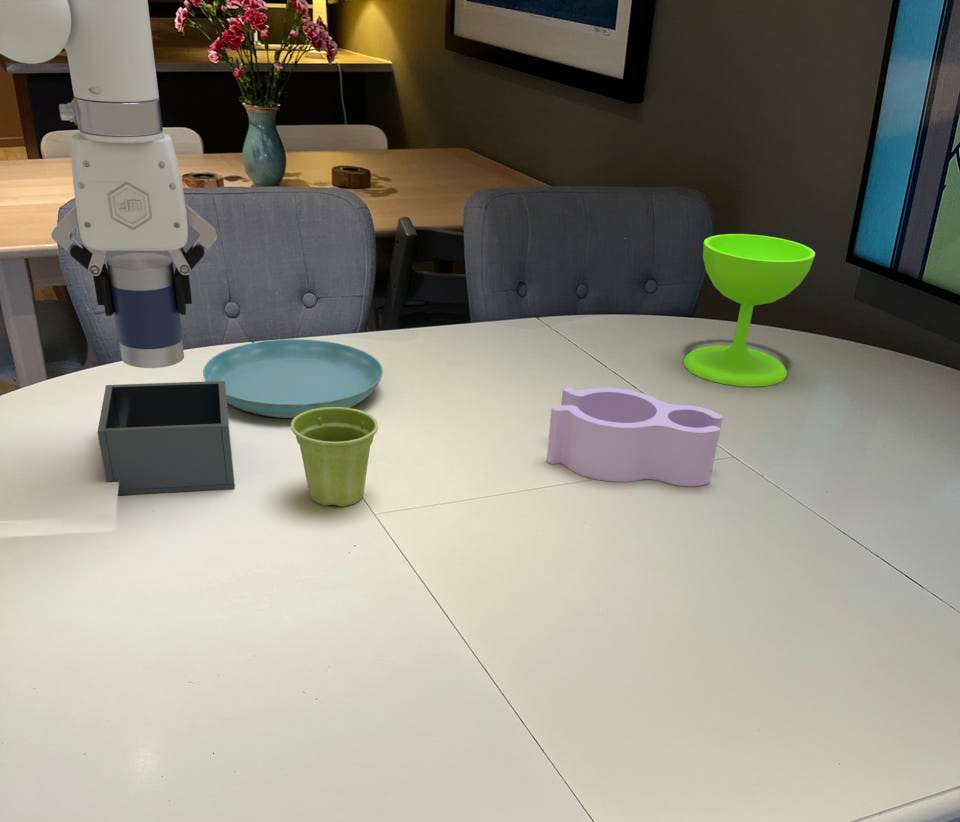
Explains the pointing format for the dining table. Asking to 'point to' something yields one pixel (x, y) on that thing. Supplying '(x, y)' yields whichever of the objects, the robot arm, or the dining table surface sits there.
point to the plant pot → (335, 452)
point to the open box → (166, 437)
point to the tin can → (146, 309)
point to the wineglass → (748, 302)
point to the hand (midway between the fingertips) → (146, 309)
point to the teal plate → (294, 376)
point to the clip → (632, 437)
